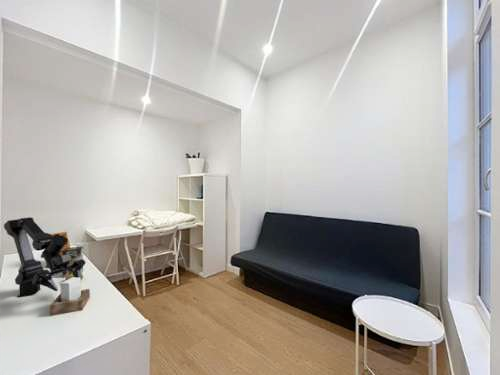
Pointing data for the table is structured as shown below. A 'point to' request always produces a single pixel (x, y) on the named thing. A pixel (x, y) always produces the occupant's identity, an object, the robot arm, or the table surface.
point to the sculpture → (72, 276)
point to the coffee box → (79, 256)
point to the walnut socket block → (69, 304)
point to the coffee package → (66, 243)
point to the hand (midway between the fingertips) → (69, 285)
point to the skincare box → (71, 289)
